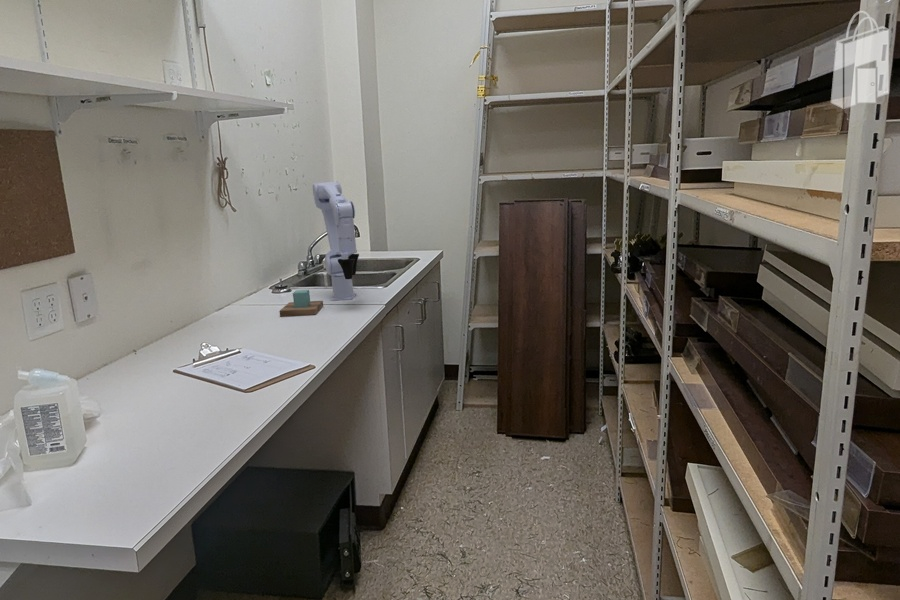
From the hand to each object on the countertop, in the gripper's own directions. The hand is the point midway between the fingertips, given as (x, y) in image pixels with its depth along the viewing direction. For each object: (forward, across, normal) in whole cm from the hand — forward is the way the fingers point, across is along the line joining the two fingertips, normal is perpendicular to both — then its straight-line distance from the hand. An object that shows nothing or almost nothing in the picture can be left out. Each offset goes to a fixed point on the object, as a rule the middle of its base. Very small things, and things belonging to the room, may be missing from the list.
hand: (350, 276), depth 199 cm
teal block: (+8, +4, -17) cm, 19 cm away
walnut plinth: (+10, +4, -17) cm, 20 cm away
